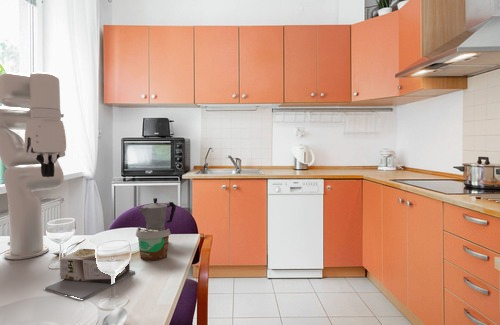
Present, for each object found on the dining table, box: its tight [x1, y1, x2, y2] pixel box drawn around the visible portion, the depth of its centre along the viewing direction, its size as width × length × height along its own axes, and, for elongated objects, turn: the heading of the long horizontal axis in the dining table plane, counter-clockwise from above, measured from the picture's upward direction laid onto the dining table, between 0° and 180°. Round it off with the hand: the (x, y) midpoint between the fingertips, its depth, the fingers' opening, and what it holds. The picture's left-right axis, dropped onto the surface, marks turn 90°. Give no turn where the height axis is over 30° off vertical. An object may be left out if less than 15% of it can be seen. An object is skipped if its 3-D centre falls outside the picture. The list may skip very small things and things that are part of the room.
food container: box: [135, 226, 171, 262], centre depth 105 cm, size 12×6×10 cm, turn 76°
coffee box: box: [59, 248, 131, 283], centre depth 90 cm, size 9×6×16 cm
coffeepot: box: [138, 197, 177, 231], centre depth 122 cm, size 15×9×18 cm, turn 133°
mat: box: [44, 269, 136, 300], centre depth 88 cm, size 14×18×1 cm
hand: (48, 176), depth 94 cm, fingers closed
